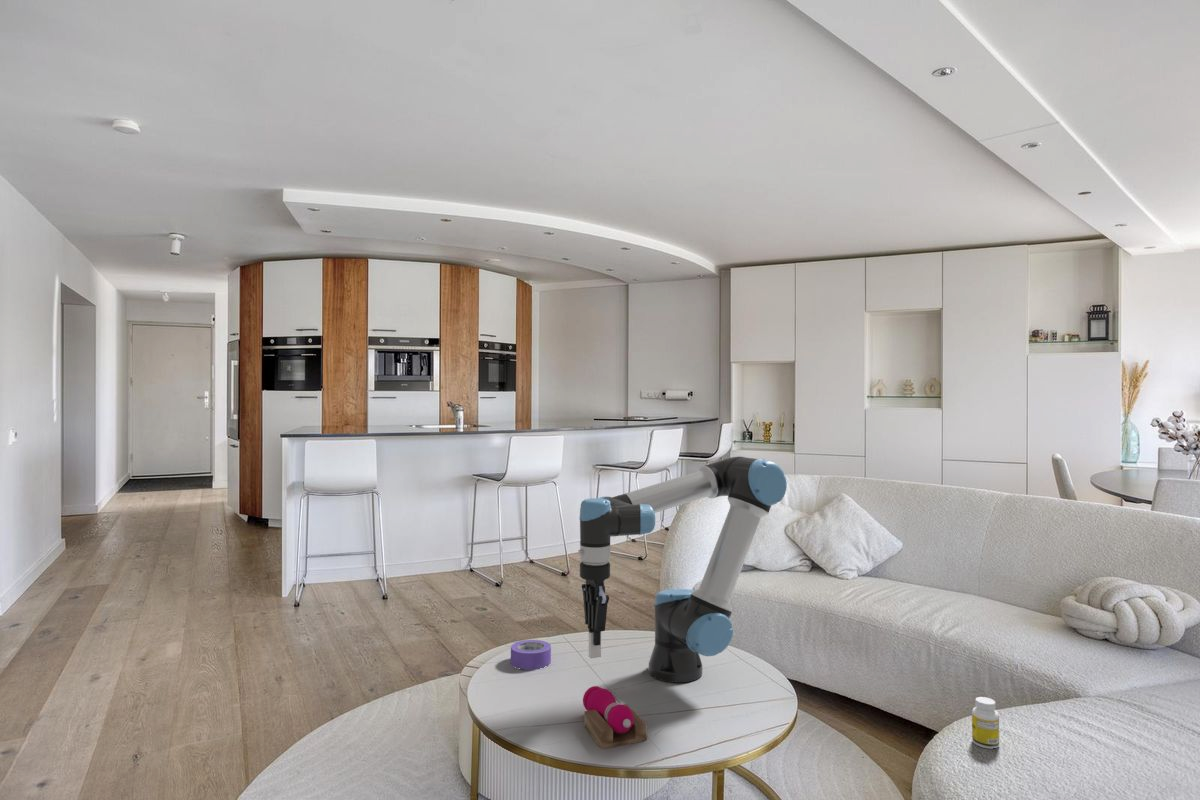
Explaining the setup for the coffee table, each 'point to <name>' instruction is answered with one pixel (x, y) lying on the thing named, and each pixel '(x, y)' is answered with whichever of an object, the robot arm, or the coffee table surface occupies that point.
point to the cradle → (609, 737)
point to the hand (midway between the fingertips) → (594, 656)
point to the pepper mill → (608, 708)
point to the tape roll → (530, 654)
